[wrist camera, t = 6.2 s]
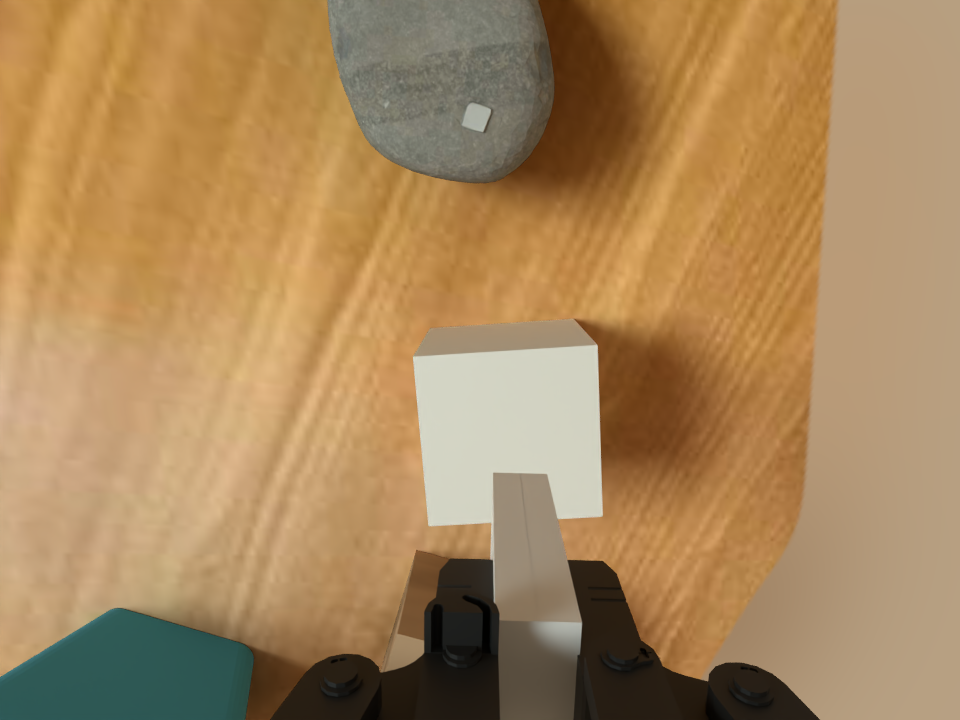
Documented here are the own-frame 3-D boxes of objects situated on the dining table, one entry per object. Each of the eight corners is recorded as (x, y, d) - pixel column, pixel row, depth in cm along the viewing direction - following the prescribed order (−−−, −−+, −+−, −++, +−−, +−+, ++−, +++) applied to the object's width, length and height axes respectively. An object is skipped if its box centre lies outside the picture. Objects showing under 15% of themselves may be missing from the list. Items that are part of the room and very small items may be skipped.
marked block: (416, 549, 33) (396, 638, 26) (542, 583, 33) (557, 681, 26) (383, 660, 34) (356, 773, 27) (505, 692, 35) (509, 812, 28)
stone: (568, -82, 27) (582, -54, 19) (538, 127, 32) (540, 215, 25) (359, -104, 27) (287, -85, 19) (366, 109, 32) (314, 191, 25)
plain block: (430, 327, 31) (412, 356, 24) (573, 318, 30) (597, 344, 23) (441, 462, 32) (428, 526, 25) (578, 454, 32) (602, 516, 25)
